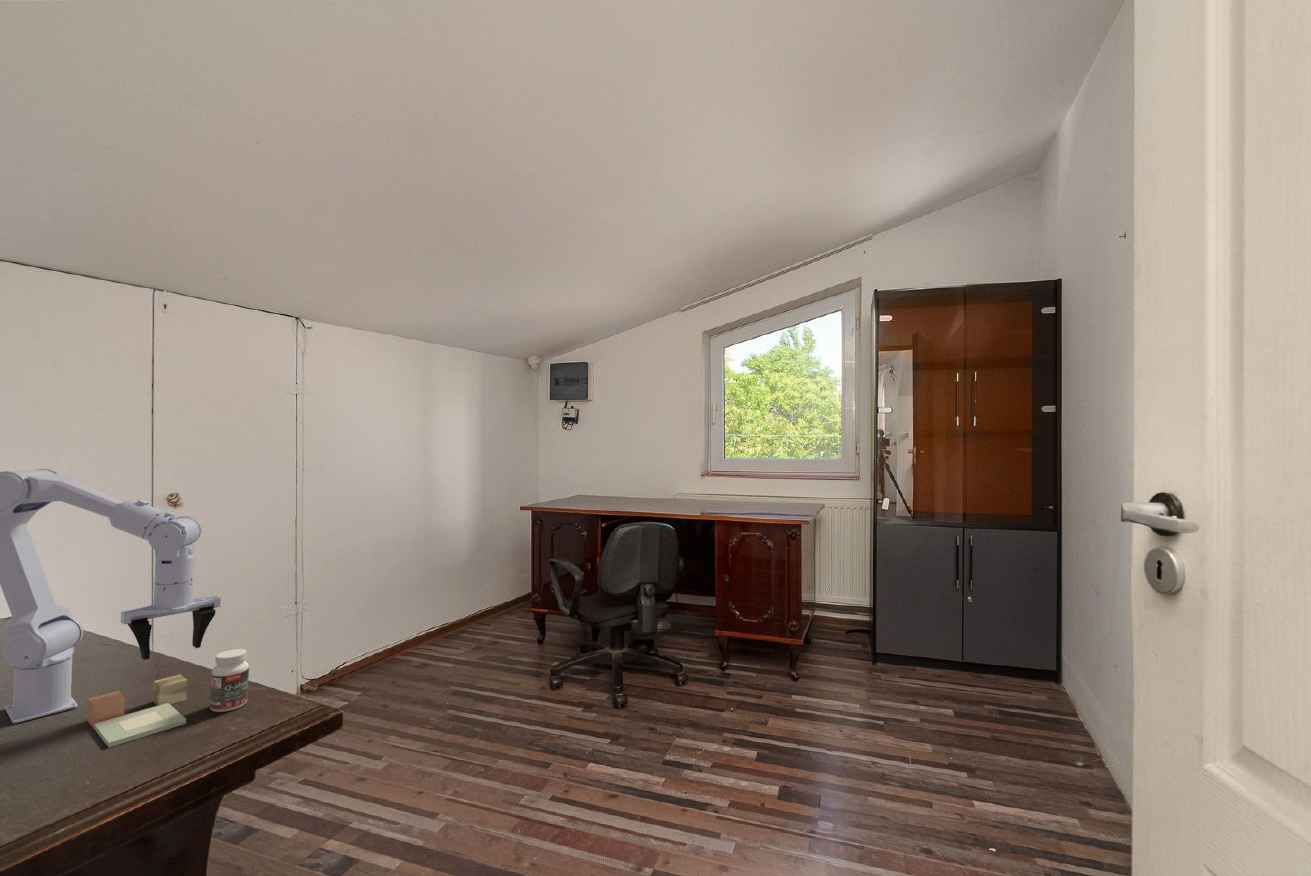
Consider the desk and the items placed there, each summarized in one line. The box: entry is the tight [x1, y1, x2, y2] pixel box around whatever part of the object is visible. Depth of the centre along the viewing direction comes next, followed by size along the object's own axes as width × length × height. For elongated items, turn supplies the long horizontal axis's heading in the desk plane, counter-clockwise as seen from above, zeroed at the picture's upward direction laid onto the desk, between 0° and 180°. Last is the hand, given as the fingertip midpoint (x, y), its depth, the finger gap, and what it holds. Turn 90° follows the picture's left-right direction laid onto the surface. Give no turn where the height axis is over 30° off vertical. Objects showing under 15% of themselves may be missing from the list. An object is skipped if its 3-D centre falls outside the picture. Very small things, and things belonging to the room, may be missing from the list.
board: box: [93, 703, 187, 748], centre depth 98 cm, size 10×10×1 cm
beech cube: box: [152, 674, 188, 706], centre depth 108 cm, size 4×4×4 cm
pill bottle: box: [209, 648, 250, 713], centre depth 106 cm, size 6×6×10 cm
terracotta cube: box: [87, 690, 126, 729], centre depth 100 cm, size 4×4×4 cm
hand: (171, 652), depth 108 cm, fingers open, 7 cm apart
